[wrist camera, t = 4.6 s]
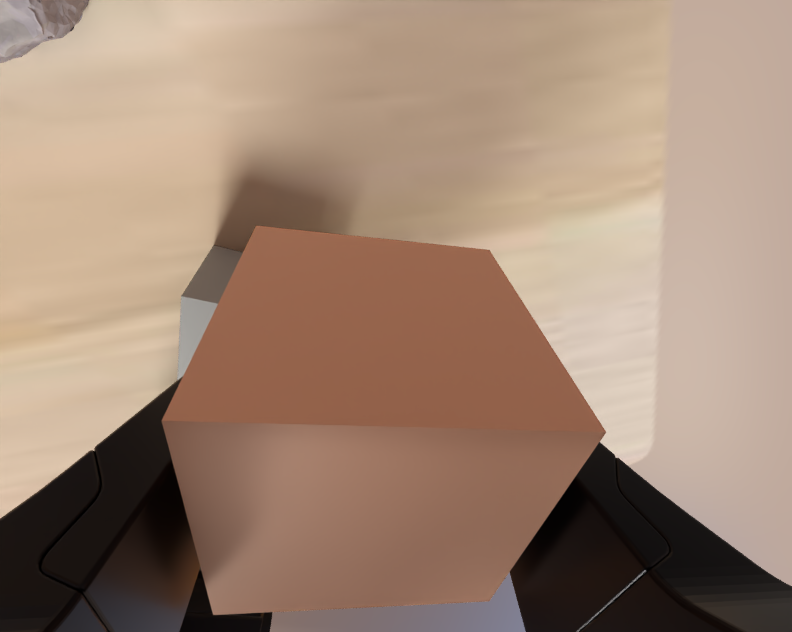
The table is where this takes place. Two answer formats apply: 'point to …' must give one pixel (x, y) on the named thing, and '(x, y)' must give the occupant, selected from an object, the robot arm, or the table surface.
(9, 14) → the stone block
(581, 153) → the table surface
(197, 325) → the slate grey cube
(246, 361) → the terracotta cube
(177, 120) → the table surface
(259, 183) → the table surface
